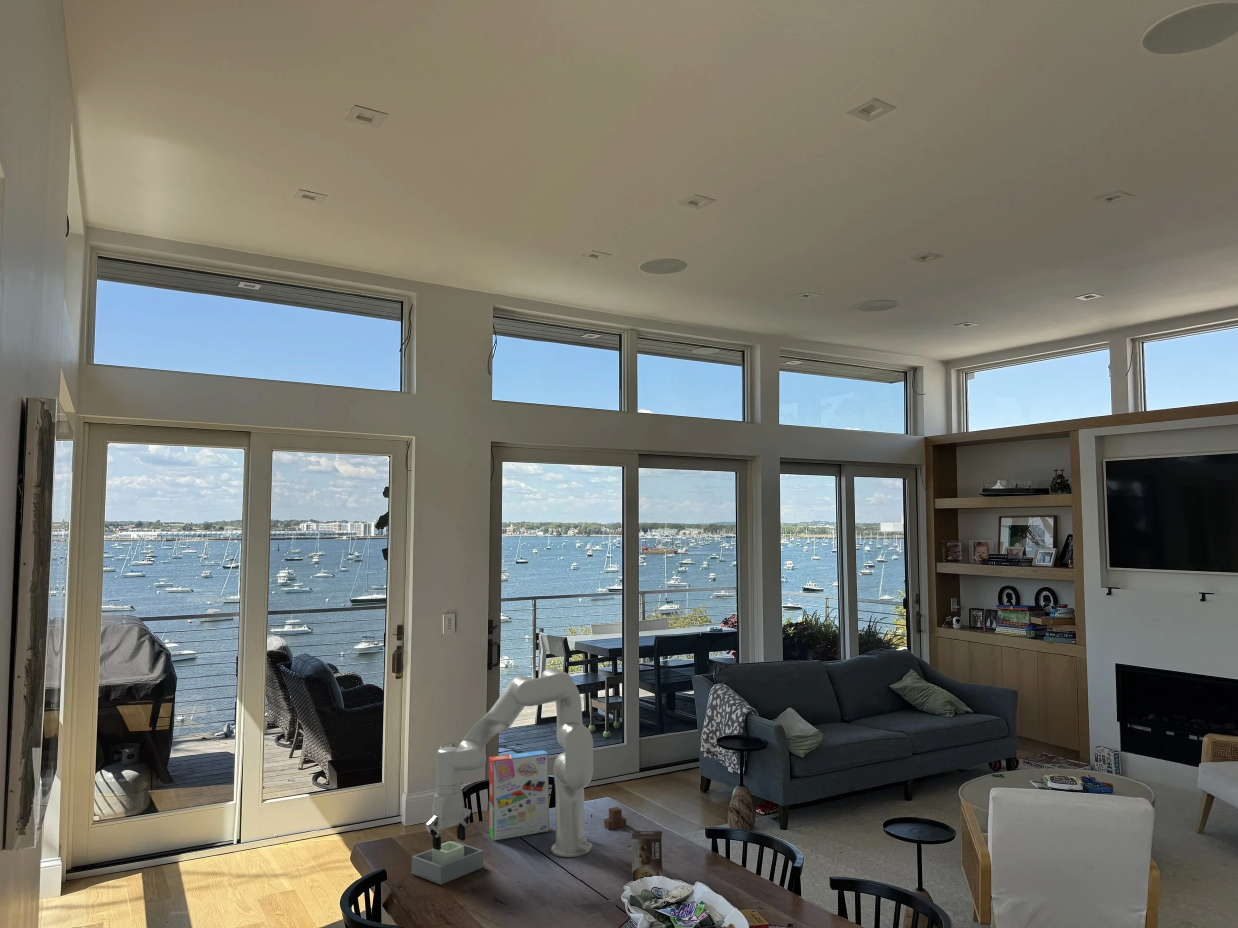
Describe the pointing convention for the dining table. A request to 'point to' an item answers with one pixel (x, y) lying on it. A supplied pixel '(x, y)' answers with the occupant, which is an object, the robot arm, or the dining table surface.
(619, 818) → the stack of crates
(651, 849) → the food package box
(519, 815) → the game box
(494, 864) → the dining table surface
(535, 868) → the dining table surface
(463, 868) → the big crate
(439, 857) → the small crate
